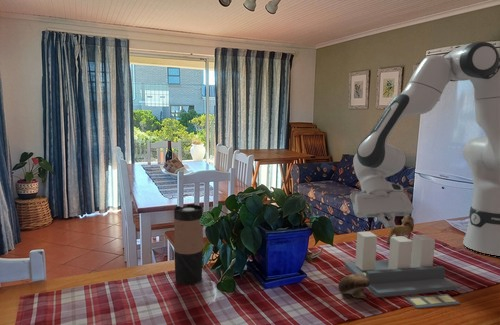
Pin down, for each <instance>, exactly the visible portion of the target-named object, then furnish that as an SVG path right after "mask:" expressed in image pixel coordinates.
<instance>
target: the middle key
mask: <svg viewBox="0 0 500 325" xmlns="http://www.w3.org/2000/svg"><path fill="white" fill-rule="evenodd" d="M389 241H390V243H389V252H388V260H389V263H388V269H400V268H410V263H411V253H412V241H413V240H412V239H410V240H409V239H407V237H406V236H405V235H403V236H397V237H396V236H392V237H391V238H390V240H389Z"/></svg>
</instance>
